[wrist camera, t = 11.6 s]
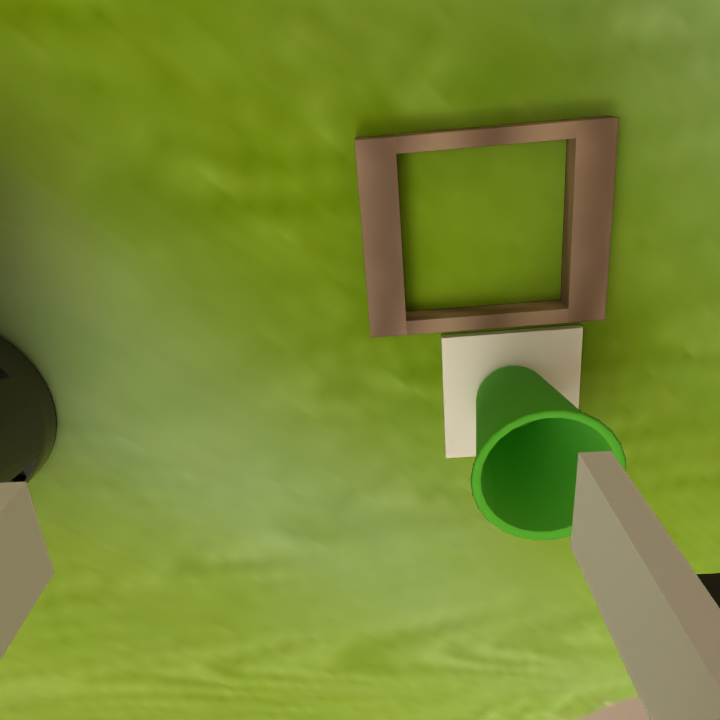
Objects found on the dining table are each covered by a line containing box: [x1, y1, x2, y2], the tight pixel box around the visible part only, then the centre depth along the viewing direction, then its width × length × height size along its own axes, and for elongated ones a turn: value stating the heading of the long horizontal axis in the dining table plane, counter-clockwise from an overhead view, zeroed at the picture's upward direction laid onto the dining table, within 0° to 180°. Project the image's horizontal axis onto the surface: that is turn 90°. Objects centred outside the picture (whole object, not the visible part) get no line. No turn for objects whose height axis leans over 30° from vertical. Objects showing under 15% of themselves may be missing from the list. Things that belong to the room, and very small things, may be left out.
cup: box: [471, 366, 626, 540], centre depth 43 cm, size 9×9×11 cm
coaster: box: [441, 325, 583, 458], centre depth 48 cm, size 10×10×1 cm
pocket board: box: [355, 116, 619, 338], centre depth 43 cm, size 16×13×2 cm
